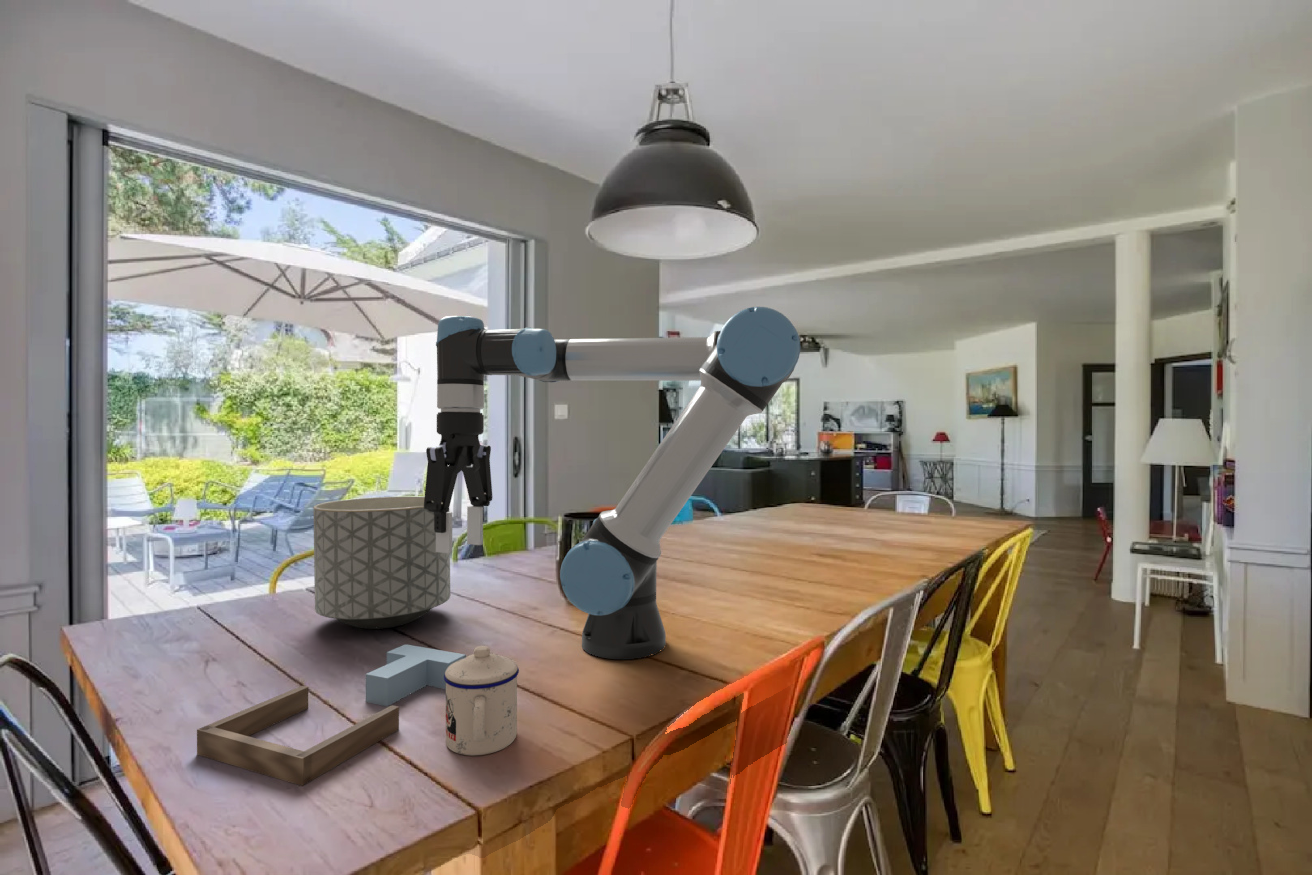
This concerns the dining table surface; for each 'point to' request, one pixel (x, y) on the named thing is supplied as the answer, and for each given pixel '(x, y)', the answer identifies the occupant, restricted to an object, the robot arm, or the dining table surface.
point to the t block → (408, 673)
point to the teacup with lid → (481, 703)
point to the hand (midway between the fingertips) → (460, 547)
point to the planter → (377, 561)
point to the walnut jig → (282, 762)
